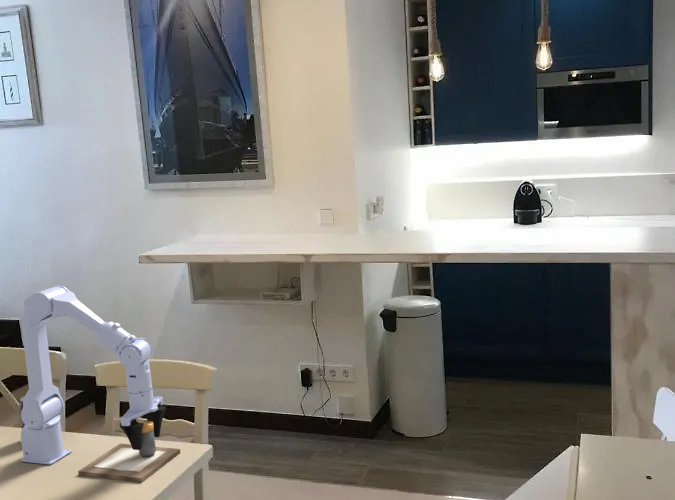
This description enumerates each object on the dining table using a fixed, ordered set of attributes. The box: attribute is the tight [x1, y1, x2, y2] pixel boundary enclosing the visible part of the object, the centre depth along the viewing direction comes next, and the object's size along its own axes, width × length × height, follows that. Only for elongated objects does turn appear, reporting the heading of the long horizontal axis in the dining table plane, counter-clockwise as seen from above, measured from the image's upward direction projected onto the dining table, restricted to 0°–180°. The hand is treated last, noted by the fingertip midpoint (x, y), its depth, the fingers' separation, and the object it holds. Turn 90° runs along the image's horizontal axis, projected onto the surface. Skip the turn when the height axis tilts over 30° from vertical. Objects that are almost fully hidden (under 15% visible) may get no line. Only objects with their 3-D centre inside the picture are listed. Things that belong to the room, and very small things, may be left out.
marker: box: [138, 420, 157, 458], centre depth 176 cm, size 4×4×8 cm
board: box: [77, 443, 181, 483], centre depth 175 cm, size 18×16×1 cm
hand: (146, 442), depth 176 cm, fingers open, 7 cm apart
